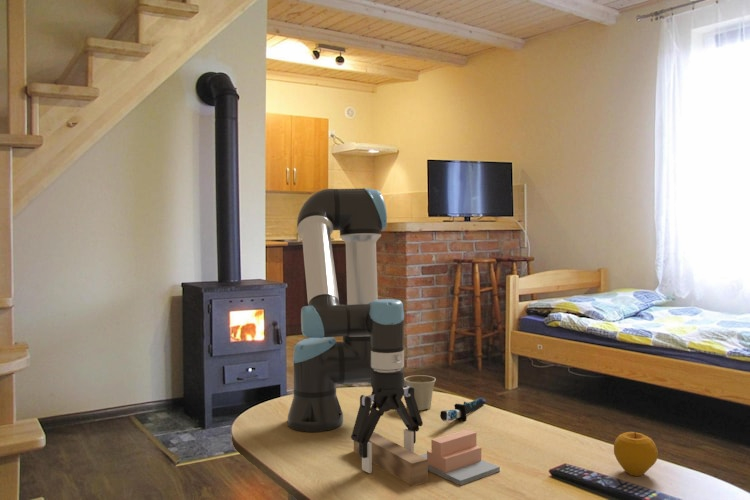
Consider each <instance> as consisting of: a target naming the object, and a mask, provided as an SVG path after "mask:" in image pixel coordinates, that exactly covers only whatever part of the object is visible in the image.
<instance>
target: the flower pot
mask: <svg viewBox="0 0 750 500" xmlns="http://www.w3.org/2000/svg"><path fill="white" fill-rule="evenodd" d="M436 381H437V379H436V377H434V376H430V375H424V374H423V375H420V374H419V375H417V374H416V375H409V376H406V377H404V383H405V386H409V387H412V388H414V397H415V400H416V403H417V406H418V410H419V411H424V410H429V409H431V408H432V400H433V393H434V392H433V391H434V386H435V382H436Z"/></svg>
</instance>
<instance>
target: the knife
mask: <svg viewBox="0 0 750 500" xmlns="http://www.w3.org/2000/svg"><path fill="white" fill-rule="evenodd" d="M486 402H487V400H486V399H485V398H483V397H478V398H477V399H475V400H473V401H470V402H467V401H463V404H461V403H455V404H454V409H447V410H441V411H440V413H439V417H440V419H441V421H442V422H444V423H445V422H446V423H448V422H450V421H453V420H458V421H464V422H466V421H467V414H470V413H473V412H475V411H478V410H479V409H480V408H482V407H483V406H484V405H485V404H486Z"/></svg>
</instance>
